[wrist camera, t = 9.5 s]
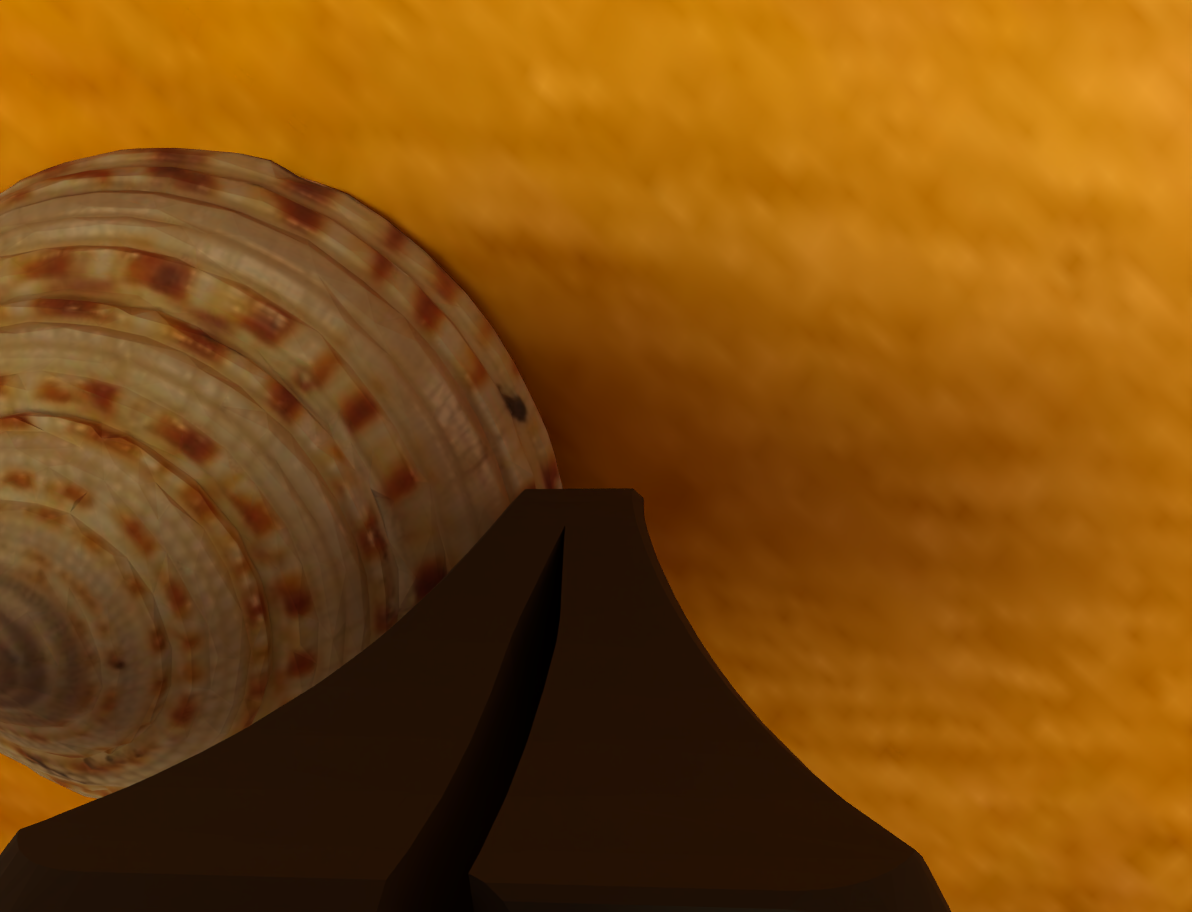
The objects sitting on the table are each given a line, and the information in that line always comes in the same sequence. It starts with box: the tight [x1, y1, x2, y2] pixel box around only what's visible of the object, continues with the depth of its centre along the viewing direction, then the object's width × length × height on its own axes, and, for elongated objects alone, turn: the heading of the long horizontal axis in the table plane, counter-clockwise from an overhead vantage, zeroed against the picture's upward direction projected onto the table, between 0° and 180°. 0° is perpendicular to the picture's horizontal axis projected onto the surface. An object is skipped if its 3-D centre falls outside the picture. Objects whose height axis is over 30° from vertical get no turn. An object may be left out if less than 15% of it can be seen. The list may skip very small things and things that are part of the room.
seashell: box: [0, 148, 563, 799], centre depth 13 cm, size 8×6×8 cm
